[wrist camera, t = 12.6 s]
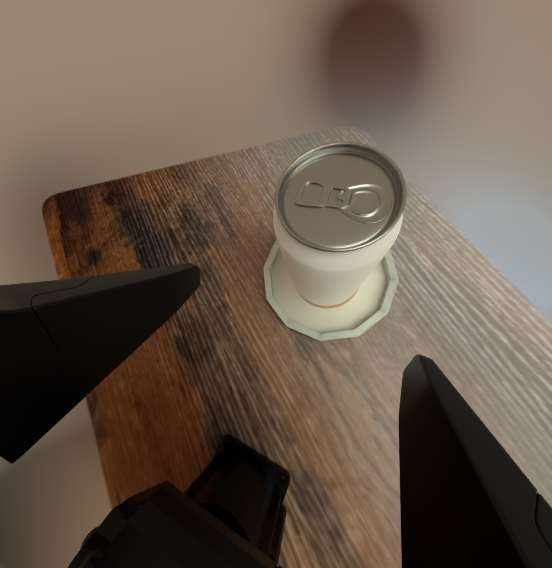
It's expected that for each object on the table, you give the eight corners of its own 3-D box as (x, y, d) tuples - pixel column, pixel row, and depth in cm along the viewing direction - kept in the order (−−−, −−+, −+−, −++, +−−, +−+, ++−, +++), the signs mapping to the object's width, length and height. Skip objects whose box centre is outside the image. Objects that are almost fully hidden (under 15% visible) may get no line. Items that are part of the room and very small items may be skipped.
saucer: (248, 310, 22) (244, 308, 21) (293, 211, 24) (292, 204, 23) (367, 361, 19) (371, 363, 18) (407, 242, 21) (412, 236, 20)
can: (350, 315, 19) (401, 279, 8) (283, 296, 21) (246, 241, 10) (367, 251, 21) (431, 141, 9) (303, 237, 22) (290, 127, 11)
